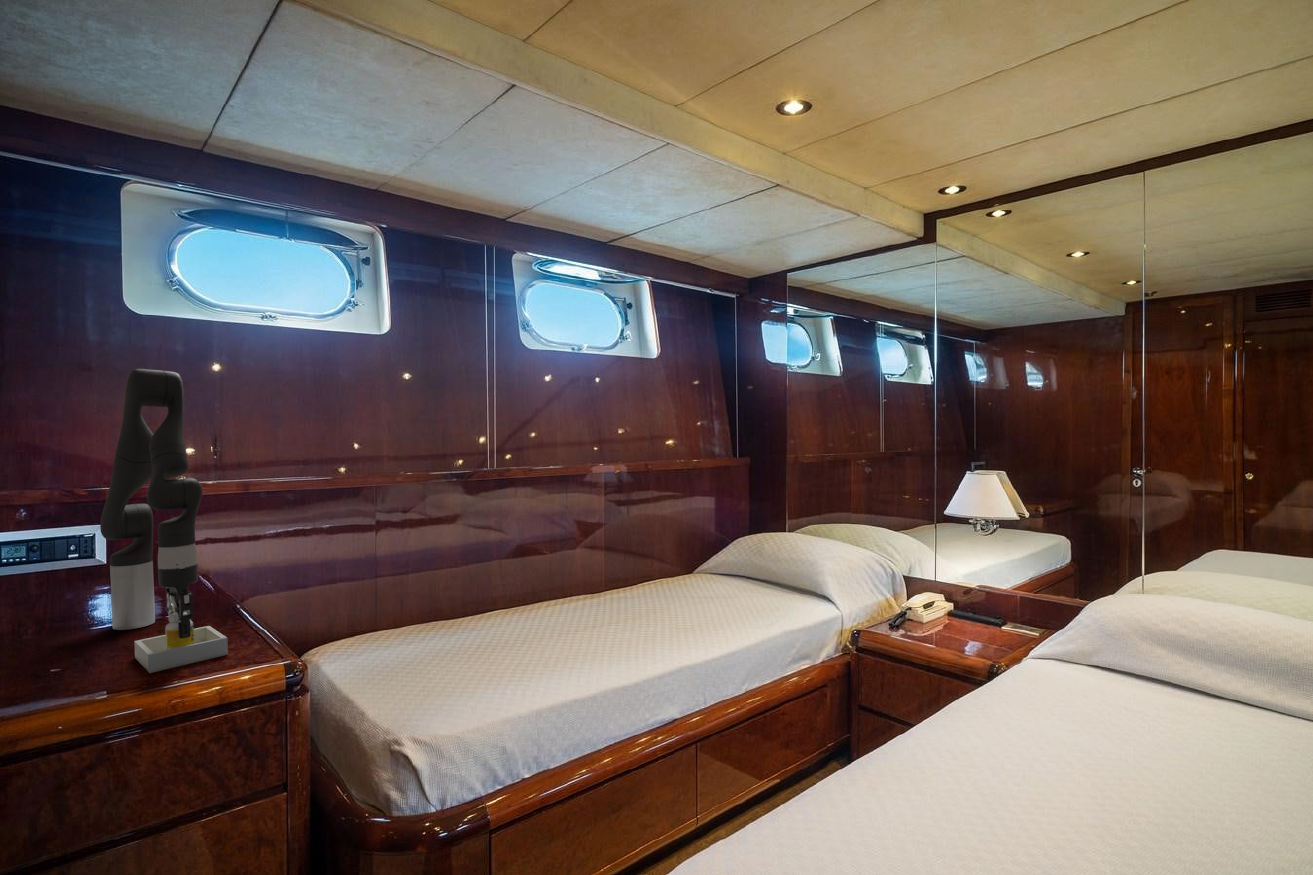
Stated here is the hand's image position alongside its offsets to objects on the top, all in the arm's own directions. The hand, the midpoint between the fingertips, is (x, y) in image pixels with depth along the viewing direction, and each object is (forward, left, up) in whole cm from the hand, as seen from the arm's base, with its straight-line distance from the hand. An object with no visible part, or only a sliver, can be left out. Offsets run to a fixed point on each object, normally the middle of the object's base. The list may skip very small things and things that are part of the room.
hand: (180, 634), depth 157 cm
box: (0, 0, -5) cm, 5 cm away
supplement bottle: (0, 0, -5) cm, 5 cm away
